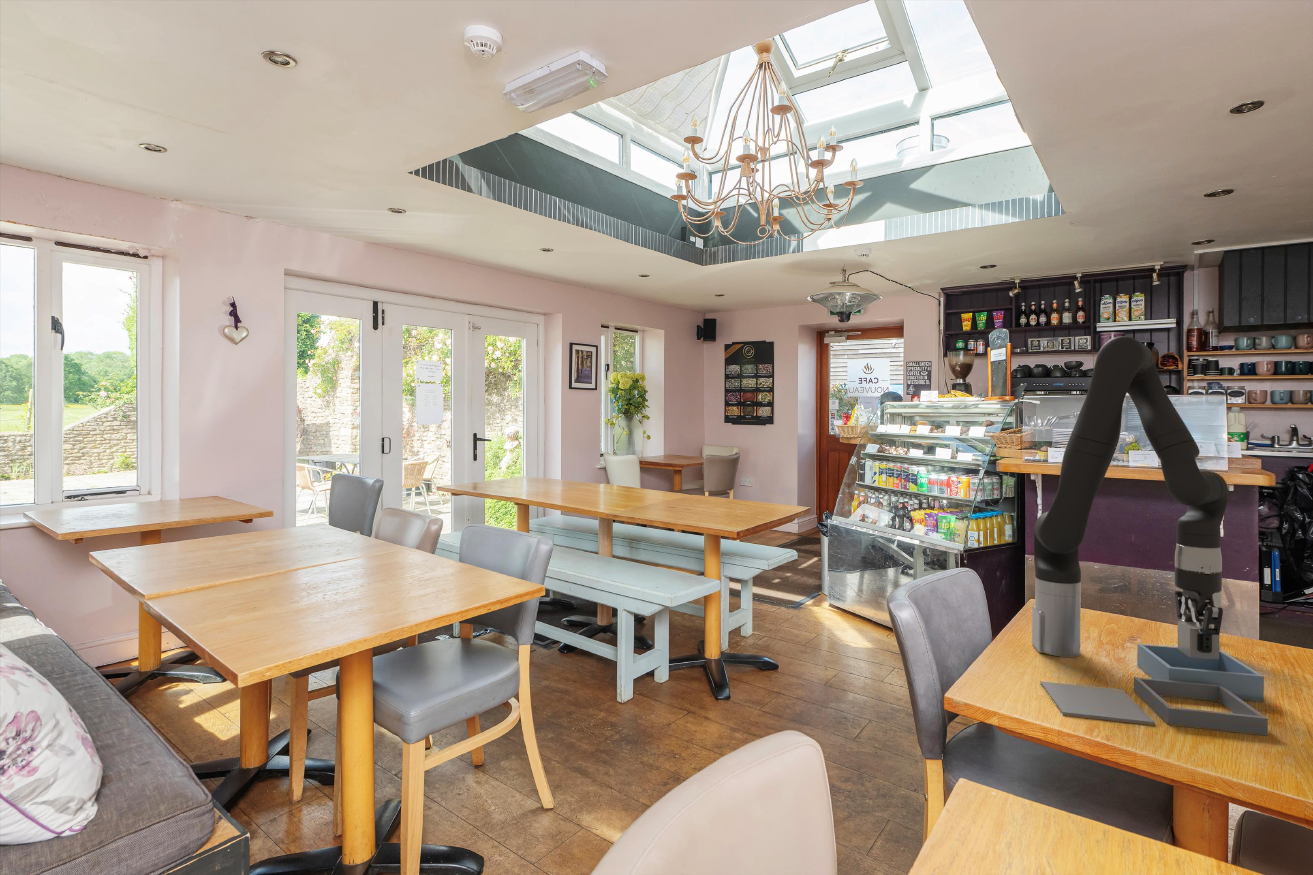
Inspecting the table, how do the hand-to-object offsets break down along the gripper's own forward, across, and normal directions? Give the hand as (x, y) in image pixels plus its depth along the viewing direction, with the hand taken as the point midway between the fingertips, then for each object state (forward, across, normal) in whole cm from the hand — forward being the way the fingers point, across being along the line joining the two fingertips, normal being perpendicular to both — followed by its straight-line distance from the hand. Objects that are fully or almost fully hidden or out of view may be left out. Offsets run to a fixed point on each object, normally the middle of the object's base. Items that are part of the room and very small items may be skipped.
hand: (1197, 646), depth 133 cm
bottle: (+8, -23, +12) cm, 27 cm away
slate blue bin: (+7, 0, 0) cm, 7 cm away
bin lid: (+7, +17, -24) cm, 31 cm away
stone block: (+1, 0, 0) cm, 1 cm away
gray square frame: (+7, +16, -7) cm, 19 cm away
